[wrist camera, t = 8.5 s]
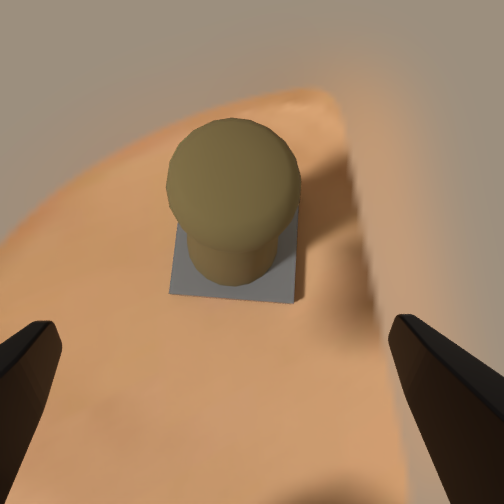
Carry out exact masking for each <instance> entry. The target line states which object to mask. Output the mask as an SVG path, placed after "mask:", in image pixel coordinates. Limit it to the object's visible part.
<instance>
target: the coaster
mask: <svg viewBox="0 0 504 504" xmlns="http://www.w3.org/2000/svg"><path fill="white" fill-rule="evenodd" d="M298 208H299V205H298V207H297V210H296V212H295V214H294V217H293V219H292V221H291V223H290V224H289V225H288V226H287V228H286V229H285V230H284V231H283V232H282V233H281V234H280V235H279V236H278V248H277V254H276V257H275V259H274V261H273V264H272V266H271V267H270V268H269V269H268V270H267V271H266V273H265V274H264V275H263V276H262V277H260V278H259V279H257V280H255V281H253V282H252V283H250V284H246V285H241V286H237V287H233V286H223V285H219V284H217V283H214V282H212V281H210V280H208V279H206V278H205V277H204V276H203V275H202V274H201V273H200V272H199V271H198V270H196V268H195V266H194V264H193V262H192V261H191V259H190V257H189V252H188V247H187V233H186V232H185V231H184V230H183V229H182V228H181V226H180V225H179V223H178V225H177V233H176V241H175V249H174V257H173V265H172V273H171V281H170V289H169V294H171V295H181V296H193V297H206V298H218V299H231V300H243V301H256V302H268V303H281V304H294V288H295V268H296V248H297V228H298Z"/></svg>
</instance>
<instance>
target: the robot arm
mask: <svg viewBox="0 0 504 504" xmlns="http://www.w3.org/2000/svg"><path fill="white" fill-rule="evenodd" d="M388 342H389V346H390V350H391V353H392V356H393V359H394V363H395V366H396V369H397V372H398V376H399V379H400V382H401V385H402V389H403V391H404V395H405V397H406V400H407V402H408V405H409V407H410V410H411V412H412V414H413V416H414V419H415V421H416V423H417V426H418V428H419V431H420V433H421V435H422V438H423V440H424V442H425V445H426V447H427V450H428V452H429V454H430V457H431V459H432V461H433V464H434V466H435V468H436V471H437V473H438V475H439V478H440V480H441V482H442V485H443V487H444V490H445V492H446V494H447V497H448V499H449V501H450V504H504V377H503V376H502V375H500V374H499V373H497V372H496V371H494V370H493V369H491V368H490V367H488V366H487V365H486V364H484V363H483V362H481V361H480V360H478V359H477V358H475V357H474V356H472V355H471V354H470V353H468V352H467V351H465V350H464V349H462V348H461V347H460V346H458V345H457V344H455V343H454V342H452V341H451V340H449V339H448V338H446V337H445V336H444V335H442V334H441V333H439V332H438V331H436V330H435V329H433V328H432V327H430V326H429V325H427V324H426V323H425V322H423V321H422V320H420V319H419V318H417V317H416V316H414V315H412V314H399V315H397V316H396V317H395V319H394V322H393V325H392V327H391V330H390V333H389V336H388ZM61 352H62V342H61V339H60V337H59V334H58V331H57V329H56V326H55V324H54V323H53V322H52V321H34V322H32V323H30V324H29V325H27V326H26V327H25V328H23V329H22V330H20V331H19V332H17V333H16V334H14V335H13V336H11V337H10V338H9V339H7V340H6V341H4V342H3V343H1V344H0V504H5V501H6V499H7V496H8V494H9V492H10V489H11V487H12V485H13V482H14V480H15V478H16V475H17V473H18V470H19V468H20V466H21V463H22V461H23V459H24V456H25V454H26V452H27V449H28V447H29V444H30V442H31V440H32V437H33V435H34V433H35V430H36V428H37V426H38V423H39V421H40V418H41V416H42V413H43V411H44V408H45V405H46V402H47V399H48V396H49V392H50V389H51V386H52V382H53V379H54V376H55V372H56V369H57V366H58V362H59V359H60V356H61Z"/></svg>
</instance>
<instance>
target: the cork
mask: <svg viewBox="0 0 504 504" xmlns="http://www.w3.org/2000/svg"><path fill="white" fill-rule="evenodd" d="M166 190H167V196H168V201H169V207H170V209H171V210H172V212H173V214H174V216H175V217H176V219H177V221H178V223H179V225H180V226H181V228H182V229H183V230H184V231H185V232H186V233H187V247H188V252H189V257H190V259H191V261H192V262H193V264H194V266H195V268H196V270H198V271H199V272H200V273H201V274H202V275H203V276H204V277H205V278H206V279H208V280H210V281H212V282H214V283H217V284H219V285H223V286H233V287H237V286H241V285H246V284H250V283H252V282H253V281H255V280H257V279H259V278H260V277H262V276H263V275H264V274H265V273H266V271H267V270H268V269H269V268H270V267H271V266H272V264H273V261H274V259H275V257H276V254H277V248H278V236H279V235H280V234H281V233H282V232H283V231H284V230H285V229H286V228H287V226H288V225H289V224H290V223H291V221H292V219H293V217H294V214H295V212H296V210H297V207H298V205H299V203H300V192H301V176H300V172H299V168H298V165H297V161H296V158H295V156H294V154H293V153H292V151H291V150H290V148H289V147H288V145H287V144H286V142H285V141H284V140H283V139H282V138H280V137H279V136H278V135H277V134H276V133H274V132H273V131H272V130H271V129H269V128H268V127H265V126H263V125H261V124H258V123H256V122H254V121H251V120H246V119H238V118H227V119H221V120H215V121H212V122H210V123H208V124H206V125H204V126H201V127H199V128H197V129H195V130H193V131H192V132H191V133H190V134H189V135H188V136H187V137H186V138H185V139H184V140H183V141H182V142H181V143H180V144H179V145H178V147H177V149H176V151H175V153H174V154H173V156H172V158H171V160H170V163H169V170H168V176H167V183H166Z"/></svg>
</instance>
